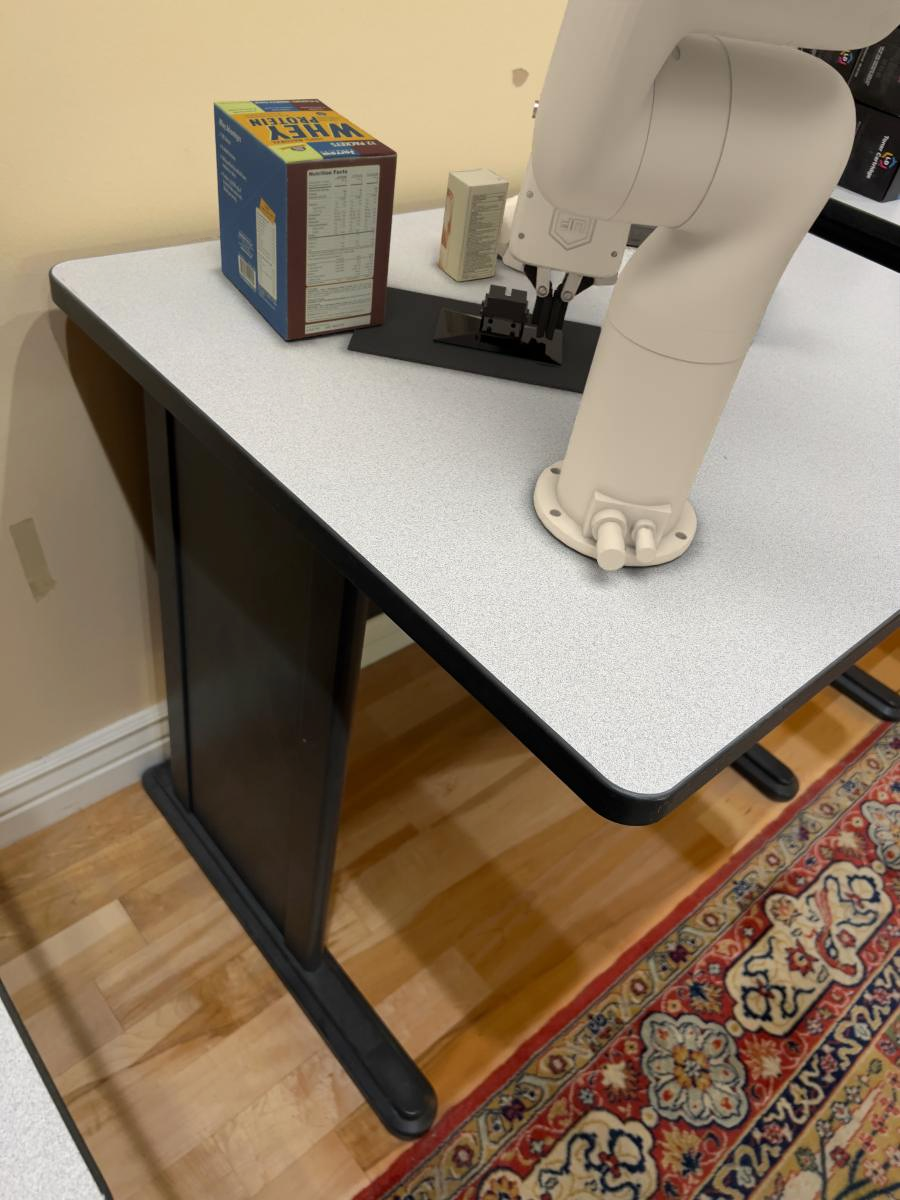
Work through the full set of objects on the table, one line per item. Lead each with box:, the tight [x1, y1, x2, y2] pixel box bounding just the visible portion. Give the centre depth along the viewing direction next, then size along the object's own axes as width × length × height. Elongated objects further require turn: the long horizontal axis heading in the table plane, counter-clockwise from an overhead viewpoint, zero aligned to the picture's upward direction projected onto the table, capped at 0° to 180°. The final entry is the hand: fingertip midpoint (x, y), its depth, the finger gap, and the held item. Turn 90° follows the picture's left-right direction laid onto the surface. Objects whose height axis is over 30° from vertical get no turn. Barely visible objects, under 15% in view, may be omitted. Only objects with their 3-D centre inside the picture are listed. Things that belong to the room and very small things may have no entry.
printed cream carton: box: [437, 167, 510, 282], centre depth 94 cm, size 5×4×10 cm
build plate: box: [433, 283, 563, 367], centre depth 85 cm, size 12×7×5 cm, turn 84°
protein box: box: [213, 98, 398, 341], centre depth 81 cm, size 10×15×16 cm
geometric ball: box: [497, 193, 519, 259], centre depth 99 cm, size 8×8×8 cm
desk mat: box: [347, 286, 602, 394], centre depth 86 cm, size 14×24×1 cm, turn 85°
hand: (544, 332), depth 86 cm, fingers closed
